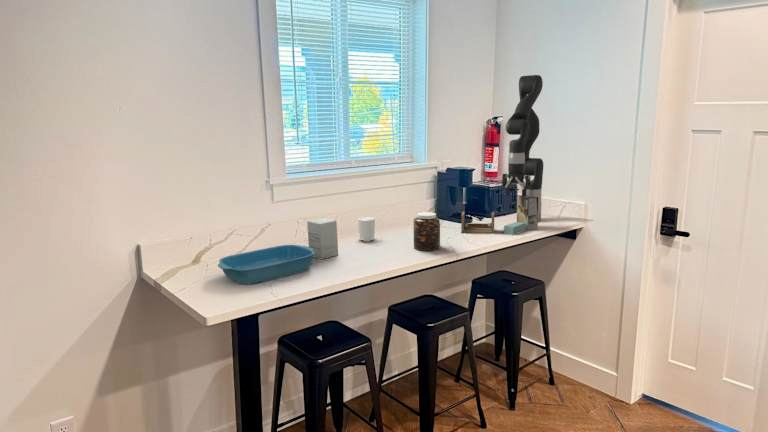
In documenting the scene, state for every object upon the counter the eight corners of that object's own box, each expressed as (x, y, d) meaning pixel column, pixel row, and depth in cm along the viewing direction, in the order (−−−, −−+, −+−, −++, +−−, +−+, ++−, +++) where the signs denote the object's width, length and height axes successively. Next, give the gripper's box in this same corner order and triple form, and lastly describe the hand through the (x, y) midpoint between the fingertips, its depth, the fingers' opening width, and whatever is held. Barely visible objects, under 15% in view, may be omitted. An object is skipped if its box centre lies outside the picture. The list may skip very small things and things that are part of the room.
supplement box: (325, 251, 224) (323, 217, 221) (338, 255, 218) (337, 220, 215) (308, 255, 218) (306, 220, 215) (321, 259, 211) (319, 223, 209)
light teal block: (503, 233, 250) (504, 225, 249) (516, 229, 259) (516, 221, 258) (513, 235, 247) (513, 227, 246) (525, 231, 255) (525, 223, 255)
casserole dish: (235, 292, 175) (233, 271, 174) (209, 277, 192) (207, 258, 191) (326, 269, 198) (325, 251, 197) (296, 258, 215) (295, 241, 214)
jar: (445, 247, 227) (445, 213, 224) (429, 252, 218) (429, 217, 216) (424, 243, 235) (424, 210, 232) (407, 248, 226) (407, 214, 223)
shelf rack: (462, 229, 261) (462, 211, 260) (493, 229, 258) (494, 211, 257) (461, 233, 253) (461, 214, 251) (494, 233, 250) (494, 215, 248)
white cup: (355, 241, 242) (355, 220, 240) (362, 237, 249) (362, 216, 247) (371, 242, 239) (370, 220, 237) (378, 238, 246) (377, 217, 244)
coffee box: (538, 229, 257) (539, 197, 254) (528, 230, 255) (528, 198, 252) (525, 225, 266) (526, 194, 263) (515, 227, 263) (516, 195, 260)
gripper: (534, 162, 244) (533, 196, 247) (508, 161, 254) (507, 193, 257) (525, 163, 239) (524, 198, 242) (499, 162, 249) (498, 195, 252)
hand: (515, 196), depth 249 cm, fingers open, 8 cm apart
